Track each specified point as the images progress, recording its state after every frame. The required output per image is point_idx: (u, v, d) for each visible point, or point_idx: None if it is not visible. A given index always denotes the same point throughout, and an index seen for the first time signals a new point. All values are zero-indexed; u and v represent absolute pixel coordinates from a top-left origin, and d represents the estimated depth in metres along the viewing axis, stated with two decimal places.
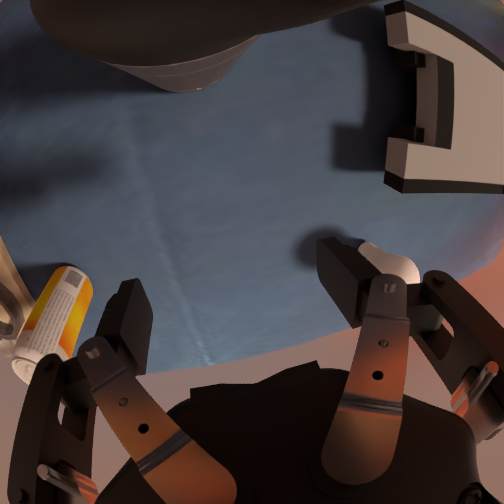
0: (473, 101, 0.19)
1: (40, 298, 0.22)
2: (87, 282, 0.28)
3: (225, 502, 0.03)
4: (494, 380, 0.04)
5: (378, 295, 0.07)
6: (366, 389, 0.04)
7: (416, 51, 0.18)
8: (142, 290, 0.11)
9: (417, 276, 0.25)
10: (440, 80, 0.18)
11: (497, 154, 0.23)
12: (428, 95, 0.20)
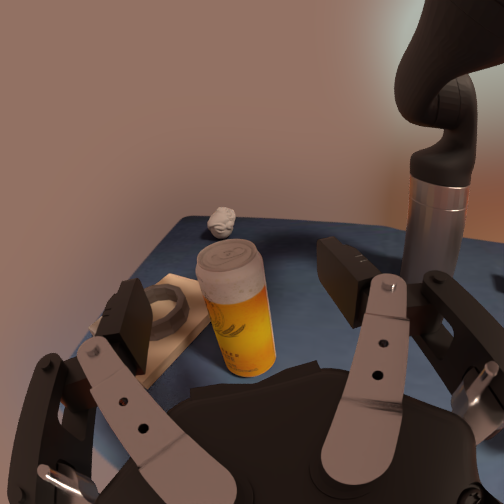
0: None
1: None
2: (274, 358, 0.29)
3: (225, 502, 0.03)
4: (494, 380, 0.04)
5: (378, 295, 0.07)
6: (366, 389, 0.04)
7: None
8: (142, 290, 0.11)
9: None
10: None
11: None
12: None
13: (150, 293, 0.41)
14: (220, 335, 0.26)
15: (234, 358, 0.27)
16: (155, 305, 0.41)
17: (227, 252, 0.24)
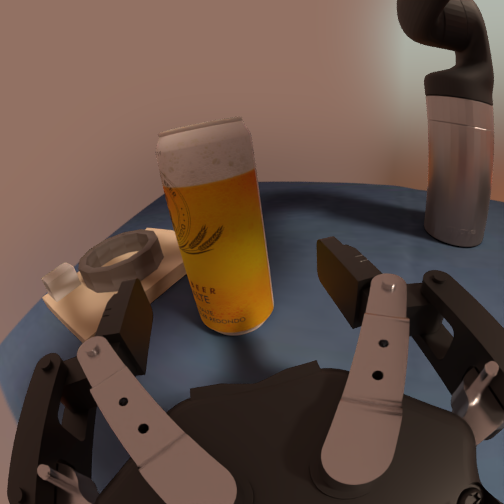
0: None
1: None
2: (271, 307, 0.21)
3: (225, 502, 0.03)
4: (494, 380, 0.04)
5: (378, 295, 0.07)
6: (366, 389, 0.04)
7: None
8: (142, 290, 0.11)
9: None
10: None
11: None
12: None
13: (119, 241, 0.32)
14: (187, 253, 0.17)
15: (208, 298, 0.18)
16: (124, 256, 0.32)
17: None
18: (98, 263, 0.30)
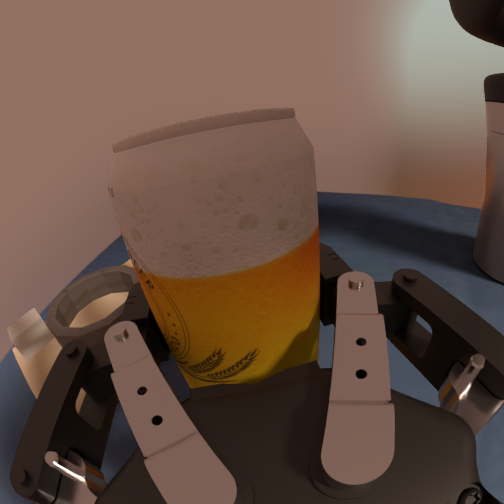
0: None
1: None
2: None
3: (225, 502, 0.03)
4: (481, 371, 0.04)
5: (347, 294, 0.08)
6: (352, 389, 0.04)
7: None
8: None
9: None
10: None
11: None
12: None
13: (98, 280, 0.24)
14: (186, 372, 0.09)
15: None
16: (106, 299, 0.24)
17: None
18: (73, 309, 0.22)
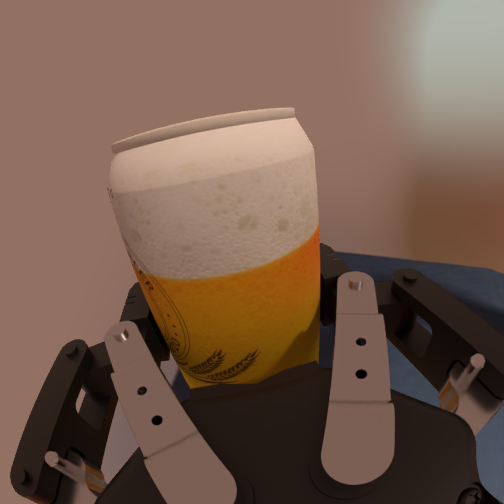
0: None
1: None
2: None
3: (225, 502, 0.03)
4: (481, 371, 0.04)
5: (346, 294, 0.08)
6: (352, 389, 0.04)
7: None
8: None
9: None
10: None
11: None
12: None
13: None
14: (186, 373, 0.09)
15: None
16: None
17: None
18: None
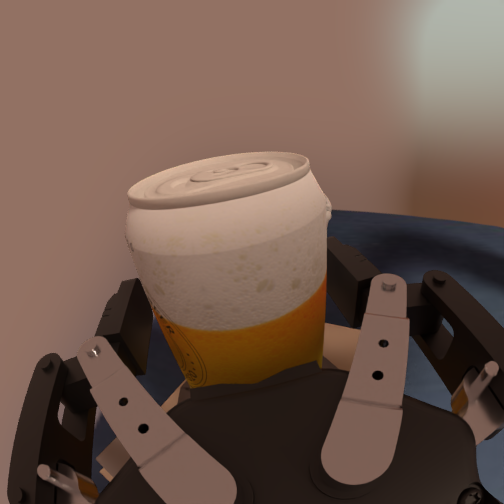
0: None
1: None
2: None
3: (225, 502, 0.03)
4: (494, 380, 0.04)
5: (378, 295, 0.07)
6: (366, 389, 0.04)
7: None
8: (142, 290, 0.11)
9: None
10: None
11: None
12: None
13: None
14: None
15: None
16: None
17: (220, 169, 0.08)
18: None
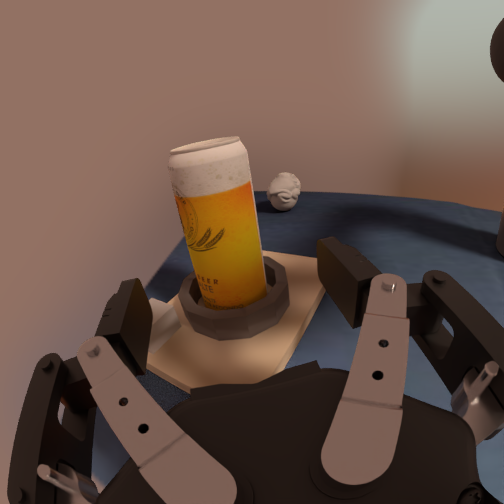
0: None
1: None
2: (265, 296, 0.24)
3: (225, 502, 0.03)
4: (494, 380, 0.04)
5: (378, 295, 0.07)
6: (366, 389, 0.04)
7: None
8: (142, 290, 0.11)
9: None
10: None
11: None
12: None
13: None
14: (194, 250, 0.21)
15: (212, 287, 0.22)
16: None
17: (206, 143, 0.19)
18: (196, 296, 0.27)
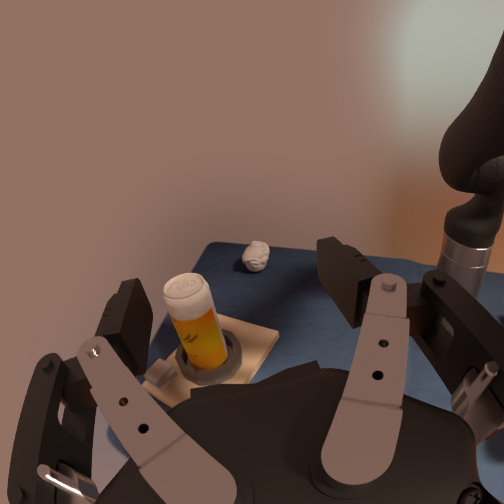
0: None
1: None
2: (226, 360, 0.38)
3: (225, 502, 0.03)
4: (494, 379, 0.04)
5: (378, 295, 0.07)
6: (366, 389, 0.04)
7: None
8: (142, 290, 0.11)
9: None
10: None
11: None
12: None
13: None
14: (182, 341, 0.35)
15: (194, 358, 0.36)
16: None
17: (184, 284, 0.33)
18: (186, 355, 0.41)
